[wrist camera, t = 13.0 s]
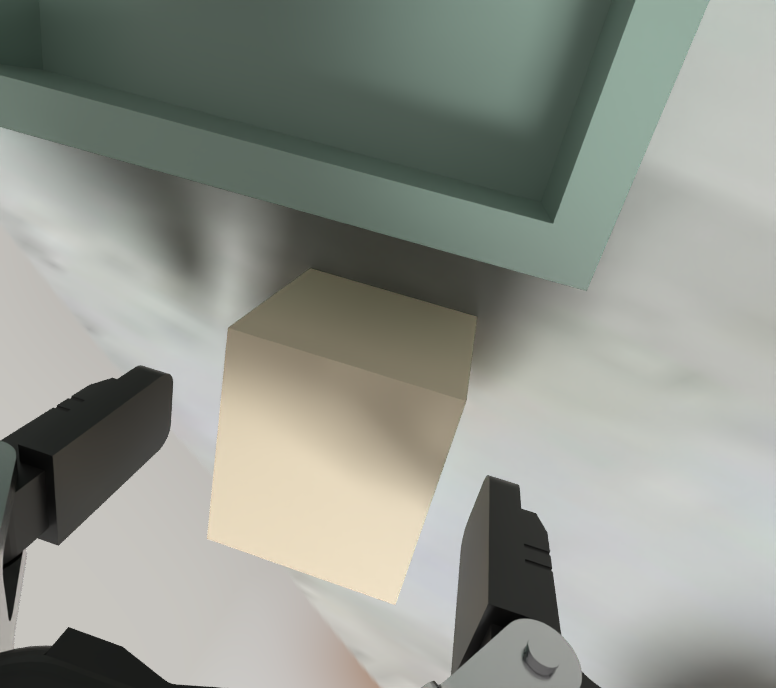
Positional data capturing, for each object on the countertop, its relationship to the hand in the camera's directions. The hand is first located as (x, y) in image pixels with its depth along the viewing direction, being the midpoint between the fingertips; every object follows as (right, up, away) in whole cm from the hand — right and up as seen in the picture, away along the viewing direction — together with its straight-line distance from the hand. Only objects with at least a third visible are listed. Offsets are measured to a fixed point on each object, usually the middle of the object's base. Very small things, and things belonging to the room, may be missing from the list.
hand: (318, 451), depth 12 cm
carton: (+1, +1, +3) cm, 4 cm away
